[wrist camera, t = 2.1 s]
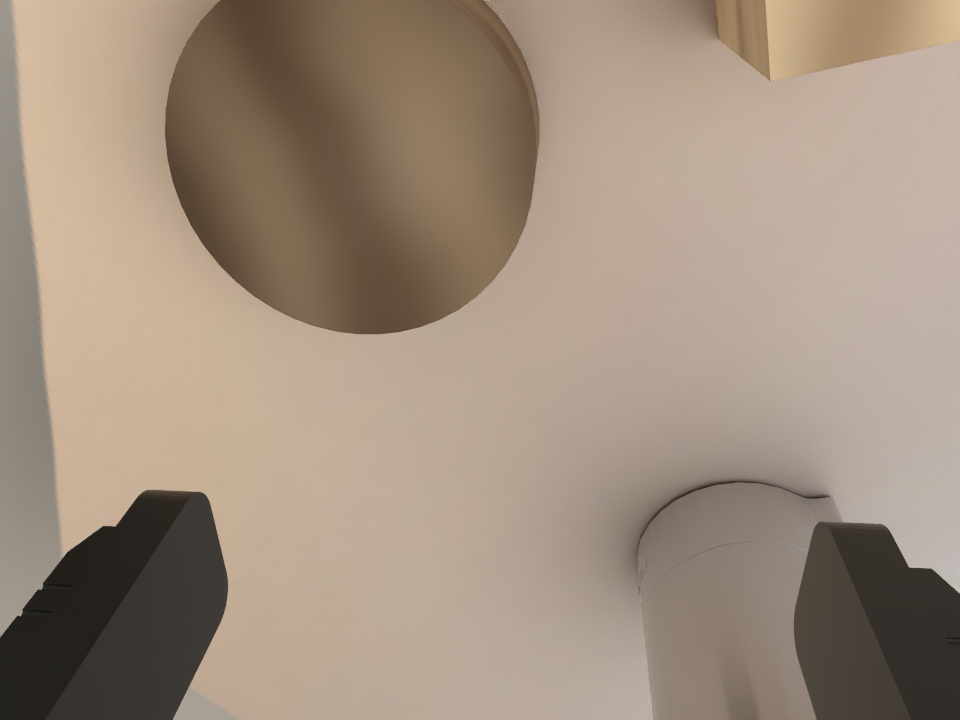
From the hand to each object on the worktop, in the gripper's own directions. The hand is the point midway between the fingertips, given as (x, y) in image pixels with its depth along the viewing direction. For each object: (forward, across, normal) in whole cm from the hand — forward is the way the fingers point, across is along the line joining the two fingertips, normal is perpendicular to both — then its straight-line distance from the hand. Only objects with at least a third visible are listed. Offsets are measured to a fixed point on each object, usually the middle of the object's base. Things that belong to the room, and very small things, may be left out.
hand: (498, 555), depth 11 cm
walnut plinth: (+22, +6, 0) cm, 23 cm away
